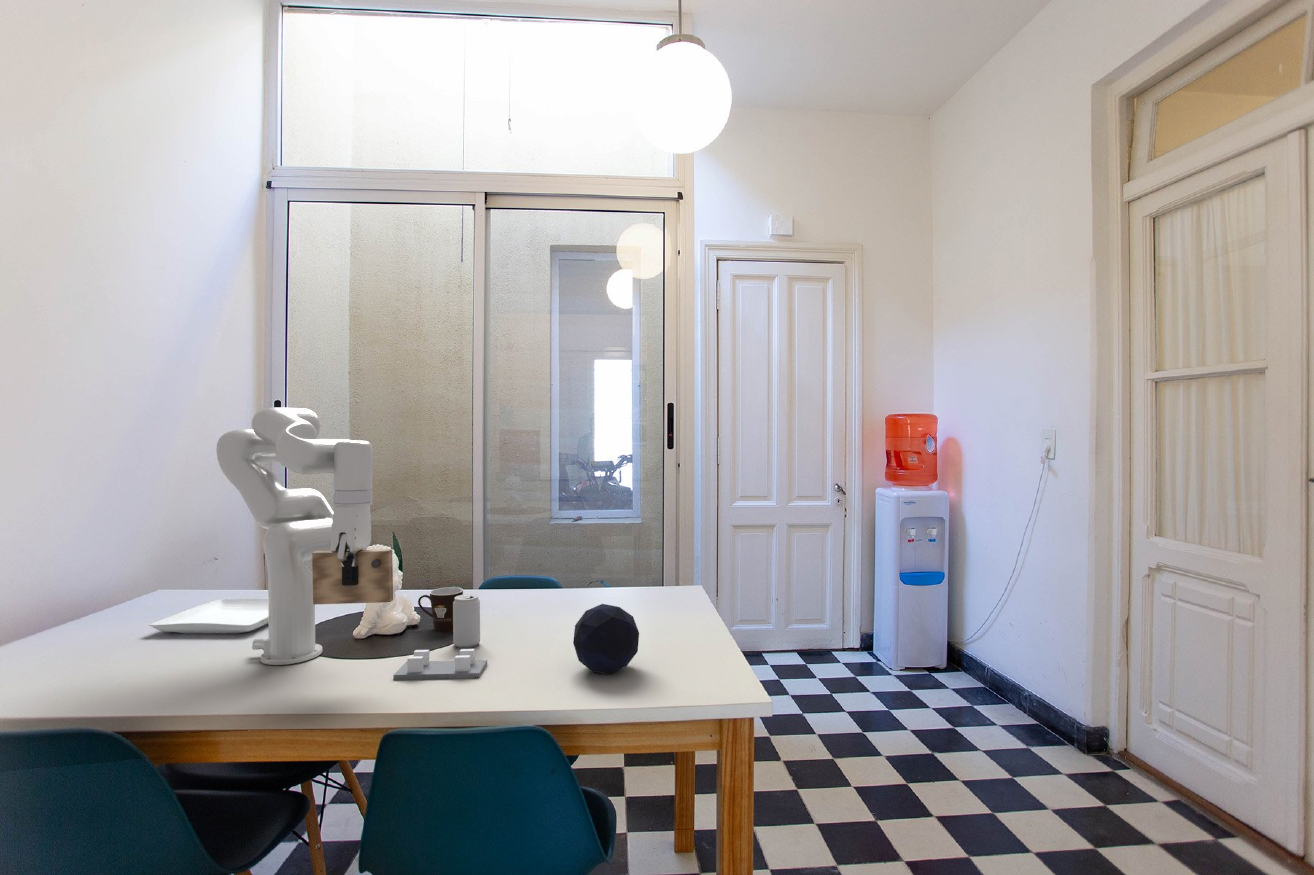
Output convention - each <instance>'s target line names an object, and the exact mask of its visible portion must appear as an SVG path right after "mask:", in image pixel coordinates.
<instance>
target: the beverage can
mask: <svg viewBox="0 0 1314 875" xmlns="http://www.w3.org/2000/svg"><path fill="white" fill-rule="evenodd" d="M452 632H453V633H452V634H453V635H452V637H453V638H452V639H453V642H452V644H453V645H454V646H456V648H458V649H459V648H460V649H471V648H473V647H476V646H477V645H478V644H479V643H480V642H481V600H480V599H479V595H477V594H475V593H474V594H473V593H471V594H470V593H467V594H466V593H465V594H463V595H459V596H456V597H455V601H454V602H453V631H452Z"/></svg>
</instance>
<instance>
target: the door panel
mask: <svg viewBox="0 0 1314 875" xmlns="http://www.w3.org/2000/svg"><path fill="white" fill-rule="evenodd" d="M348 551H349V550H347V552H348ZM337 556H338V552H337V553H332V552H331V551H316V552H313V553H312V559H311V563H312V564H311V566H312V571H311V573H312V574H313V604H315V605H340V604H341V605H343V604H344V605H345V604H376V603H377V604H379V603H391V602H392V601H394V574H393V573H394V570H393V549H392V548H390V549H366V550H360V551H357V565H356V566H358V584H357V585H342V567H341V560H338V558H337ZM348 556H351V558H352V555H348Z"/></svg>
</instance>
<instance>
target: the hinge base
mask: <svg viewBox="0 0 1314 875" xmlns="http://www.w3.org/2000/svg"><path fill="white" fill-rule="evenodd" d="M475 656H476V649H475V648H460V650H459V655H455V657H454V660H430V649H416V650H414V651H413V655H412V656H408V657H407V658H406V659H407V661H406V662H404V663H403V664H402V666H400V668H399V669H397V671H396V672H395V673H394V674H393V676H392V677H393V681H395V680H396V681H398V680H401V681H402V680H435V679H437V680H439V679H440V680H441V679H442V680H443V679H445V678H446V679H447V678H448V679H478V678H477V677H479V678H480V677H481V676H482V674H483V673H484V671H485V669H486V667H487V666H488V659H478V660H477V659H476V658H475ZM475 677H476V678H475ZM448 679H447V680H448Z"/></svg>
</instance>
